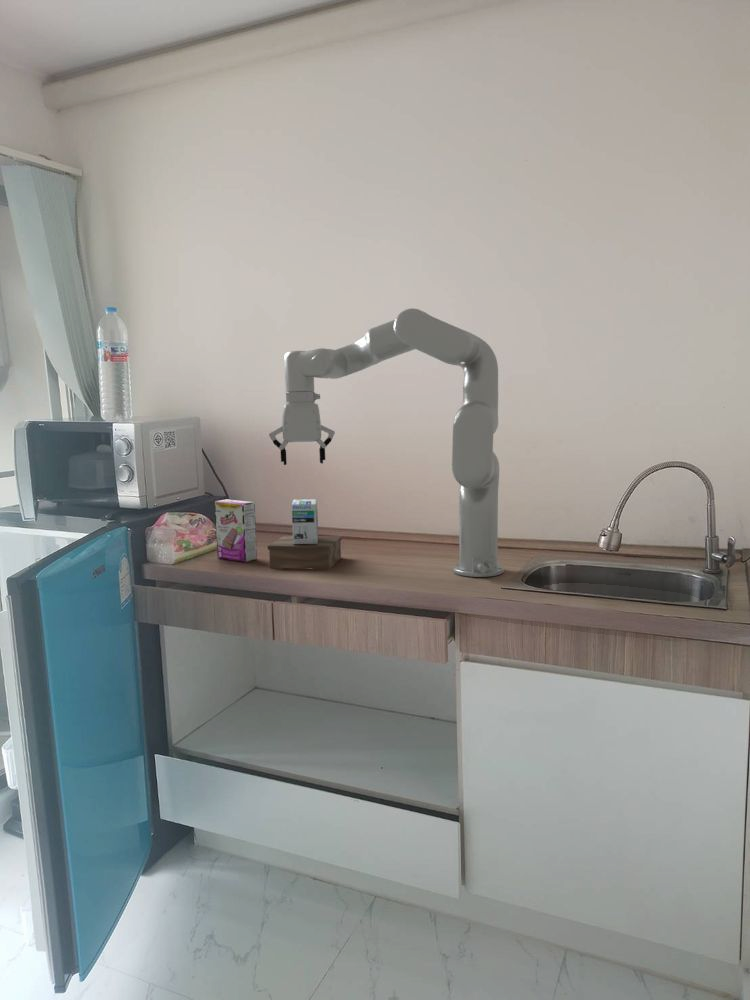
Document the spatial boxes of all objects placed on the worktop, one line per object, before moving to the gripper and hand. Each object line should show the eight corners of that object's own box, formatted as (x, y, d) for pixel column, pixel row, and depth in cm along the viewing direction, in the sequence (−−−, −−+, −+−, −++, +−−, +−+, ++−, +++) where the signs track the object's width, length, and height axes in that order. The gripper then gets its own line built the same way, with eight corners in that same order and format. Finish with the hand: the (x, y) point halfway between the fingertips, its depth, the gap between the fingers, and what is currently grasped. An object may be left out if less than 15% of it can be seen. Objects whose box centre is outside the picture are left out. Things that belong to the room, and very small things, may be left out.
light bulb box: (317, 544, 192) (316, 503, 191) (292, 545, 192) (291, 504, 190) (318, 536, 203) (317, 498, 201) (294, 537, 202) (293, 498, 201)
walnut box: (329, 571, 190) (329, 546, 189) (268, 569, 193) (267, 545, 192) (342, 559, 204) (341, 536, 203) (285, 558, 207) (284, 535, 206)
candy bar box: (216, 558, 206) (213, 501, 204) (229, 555, 210) (226, 498, 208) (245, 563, 200) (242, 503, 197) (258, 559, 204) (255, 501, 202)
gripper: (332, 398, 197) (335, 461, 199) (267, 400, 195) (270, 464, 197) (334, 397, 189) (336, 463, 192) (266, 399, 187) (270, 466, 190)
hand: (303, 463), depth 194 cm, fingers open, 9 cm apart
